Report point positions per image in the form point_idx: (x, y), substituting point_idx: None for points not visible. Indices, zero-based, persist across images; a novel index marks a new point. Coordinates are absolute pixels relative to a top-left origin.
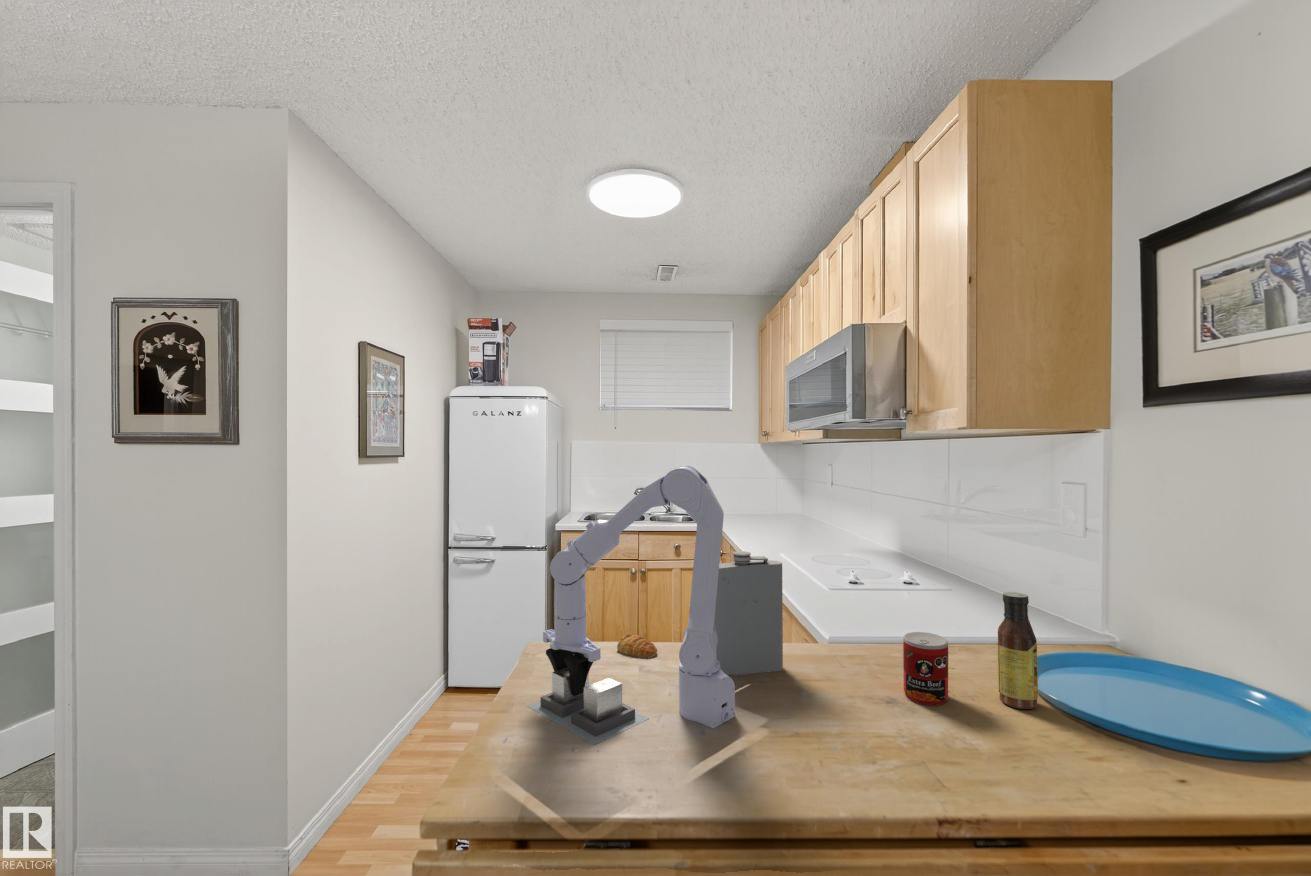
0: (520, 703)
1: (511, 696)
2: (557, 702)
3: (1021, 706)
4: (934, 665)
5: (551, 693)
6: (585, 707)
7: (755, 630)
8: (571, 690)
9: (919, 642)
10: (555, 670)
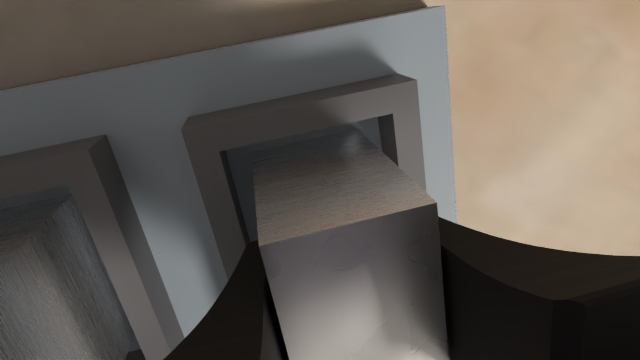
0: (539, 20)
1: (634, 13)
2: (317, 148)
3: None
4: None
5: (415, 154)
6: (12, 239)
7: None
8: None
9: None
10: (464, 241)
